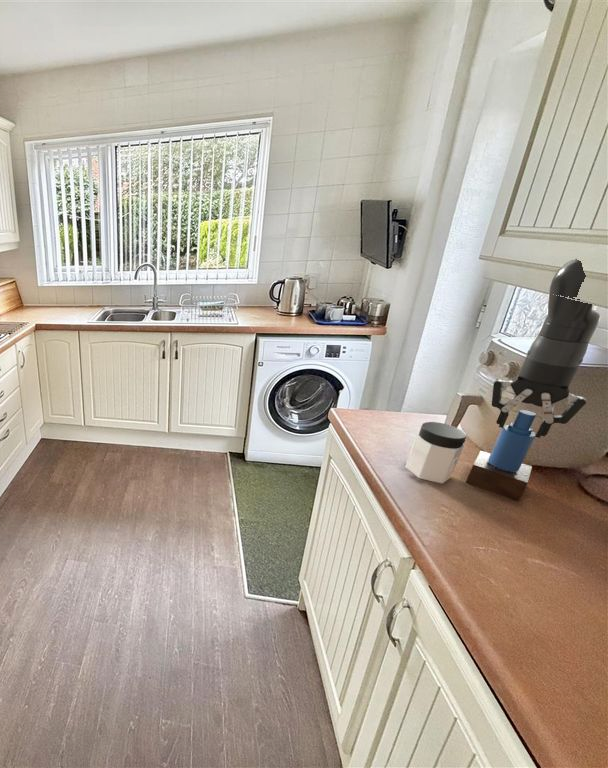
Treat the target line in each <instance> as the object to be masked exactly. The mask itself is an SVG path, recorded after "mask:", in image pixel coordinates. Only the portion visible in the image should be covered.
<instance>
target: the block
mask: <svg viewBox="0 0 608 768" xmlns="http://www.w3.org/2000/svg"><path fill="white" fill-rule="evenodd" d="M490 454H491V452H486V451H484V450H479V452H478V454H477V456H476V458H475V460H474V461H473V465H472V466H471V469H470V472H469V473H468V476H467V478H466V480H465V483H466V484H469V485H471V486H474V487H477V488H480V489H483V490H486V491H488V492H492V493H494V494H496V495H499V496H502V497H505V498H507V499H511V500H513V501H517V502H519V501H520V499H521V498H522V495H523V494H524V492H525V490H526V488H527V486H528V483H529V480H530V476H531V473H532V471H533V466H531V465H529V464H525V463H522V464H521V466H520V469H519V470H518V471H515V472H512V471H506V470H502V469H499V468H497V467H495V466H493V465H491V464H490V463H489V462H488V459H489V457H490Z"/></svg>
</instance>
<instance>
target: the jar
mask: <svg viewBox="0 0 608 768" xmlns="http://www.w3.org/2000/svg"><path fill="white" fill-rule="evenodd" d="M466 438H467V434H466V433H465V432H464V431H463V430H462V429H460V428H458V427H456V426H453V425H450V424H447V423H443V422H437V421H426V422H424V423H422V424H421V427H420V429H419V432H418V434H417V435H416V436H415V438H414V441H413V444H412V447H411V450H410V453H409V456H408V458H407V461H406V464H405V468H406V469H407V470H408V471H409V472H411V474H413V475H414V476H415V477H416V478H418V479H420V480H424V481H429V482H433V483H438V484H442V485H443V484H445V482H447V481H448V480H449V479H451V478H452V476H453V474H454V472H455V468H456V466H457V463H458V461H459V459H460V457H461V455H462V452H463V449H464V447H465V442H466Z"/></svg>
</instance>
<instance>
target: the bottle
mask: <svg viewBox="0 0 608 768" xmlns="http://www.w3.org/2000/svg"><path fill="white" fill-rule="evenodd" d="M536 416H537V413H535V412H533V411H530V410H527V409H520V410H519V411H518V413H517V415H516V417H515V419H514V422H511V423H509V424H504V426H503V428H501V429H500V432H499V435H498V437H497V439H496V441H495V443H494V445H493V447H492V450H491V452H490V457H489V459H488V462H489V463H490V464H491V465H493V466H495V467H497V468H499V469H502V470H506V471H512V472H515V471H518V470H519V469H520V466H521V464H523V463H524V460H525V458H526V457H527V454H528V452H529V451H530V448H531V447H532V444H533V442H534V440H535V438H536V437H535V436H536V432H534V431H533V428H532V425H533V423H534V421H535V419H536Z"/></svg>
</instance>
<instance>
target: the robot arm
mask: <svg viewBox="0 0 608 768" xmlns="http://www.w3.org/2000/svg"><path fill="white" fill-rule="evenodd" d="M574 259H575V260H573V259H571V260H569V261H567V262H565V263H564V264H563V265H561V266H560V268H558V269H557V271H556V272H555V274H554V275H553V277H552V279H551V282H550V285H549V289H548V297H547V313H546V316H545V318H544V320H543V322H542V324H541V326H540V329H539V332H538V334H537V335H536V336H535V338H534V340H533V341H532V343H531V345H530V347H529V349H528V351H527V353H526V356H525V359H524V361H523V363H522V365H521V367H520V370H519V371H518V374H517V376H516V377H515V378H514V379H513V380H504V379H502V378H497V379H495V380H494V381H493V387H492V397H491V407H493V408H496V409H498V410H499V411H500V412H499V414H498V417H497V419H496V421H495V422H496V424H497V425H498V428H501V429H502V428H503V426H505V425H506V423H507V420H508V417H509V415H510V413H511V410H512V409H513V408H515V407H516V406H518V405H519V404H520V403H521V404H527V405H528V404H529V405H534V406H536V407H540V408H542V411H543V416H544V418H543V419H542V420H541V422H540V425H539V427H538V429H537V431H536V432H535V434H536V436H535V438H537V439H540V438H541V437H546V436H547V435H548V433H549V431H550V429H551V427H552V426H553V425H554V424H561V425H566V424H567V423H569V422H570V420H572V419H573V417H575V416H576V414H577V413H578V412H580V411H581V409H583V407H584V406H586V404H587V397H586V396H583V395H580V396H579V395H576V394H573V393H570V390H569V388H570V386H571V383H572V381H573V379H574V378H575V376H576V373H577V372H578V369H579V367H580V366H581V364H582V363H583V361H584V358H585V356H586V353H587V351H588V347H589V344H590V342H591V340H592V338H593V336H594V334H595V332H596V329H597V327H598V326H599V323H600V320H601V314H600V312H598V311H597V310H595V309H593V307H594V304H593V305H592V304H588V303H583V302H580V301H575V300H571V299H567V298H565V297H568V296H569V298H572V299H575V298H573V297H577V295H578V292H579V289H580V287H581V284H582V282H584V279H585V277H586V275H585V273H584V271H583V267H582V263H581V261H579V260H577V258H574ZM553 294H554V295H553ZM556 295H557V296H556ZM558 295H559V296H558ZM560 295H561V296H564V297H560ZM577 300H580V299H577ZM508 387H511V390H512V391H513V393H514V395H513V396H512V397H511V398H510V399H508V401H507V402H504V401H502V395H503V391H505V390H507V389H508ZM565 399H567V405H568V407H567V408H566V409H565V410H564V411H563V412H562V413H561V414H560V415H559V414H557V415H556V414H555V411H554V410H555V409H554V404H557V403H559V402H560V401H562V400H565Z"/></svg>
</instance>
